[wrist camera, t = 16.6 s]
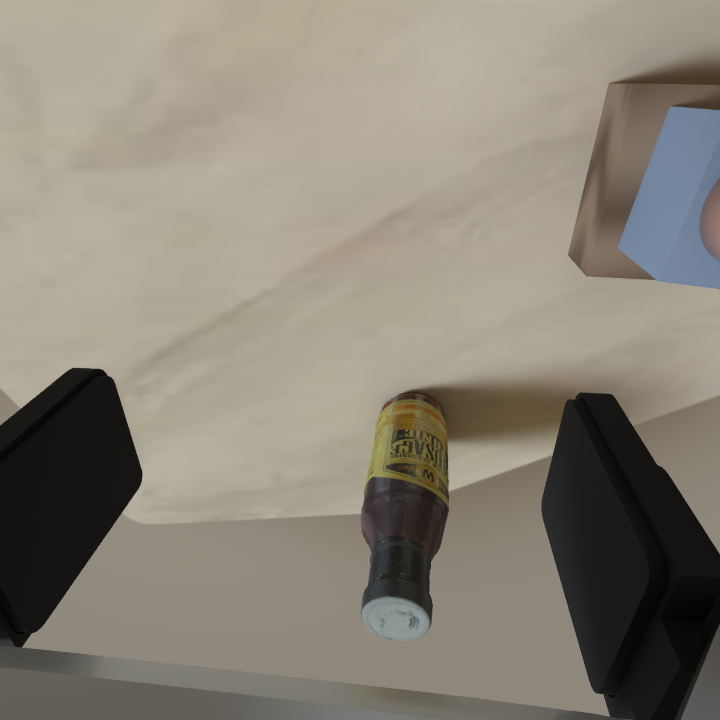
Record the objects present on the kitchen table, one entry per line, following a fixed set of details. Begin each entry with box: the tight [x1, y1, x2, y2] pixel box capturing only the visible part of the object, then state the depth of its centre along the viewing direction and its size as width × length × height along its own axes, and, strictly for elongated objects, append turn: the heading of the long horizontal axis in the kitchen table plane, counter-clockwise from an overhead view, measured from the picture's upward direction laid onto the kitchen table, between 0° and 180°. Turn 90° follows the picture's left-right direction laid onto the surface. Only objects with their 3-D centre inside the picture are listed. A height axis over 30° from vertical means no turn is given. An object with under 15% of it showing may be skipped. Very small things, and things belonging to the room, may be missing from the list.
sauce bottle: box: [361, 393, 449, 641], centre depth 36 cm, size 7×6×20 cm
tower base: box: [568, 83, 720, 280], centre depth 31 cm, size 11×11×5 cm
